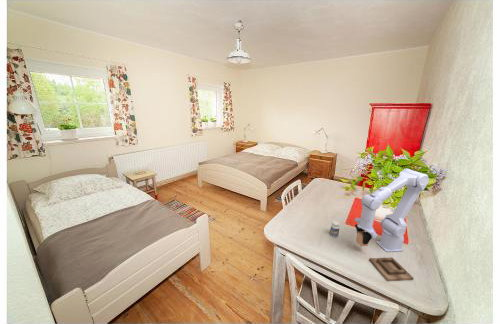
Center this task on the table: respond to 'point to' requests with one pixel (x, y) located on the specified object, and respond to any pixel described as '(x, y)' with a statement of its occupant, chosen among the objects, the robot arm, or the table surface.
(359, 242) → the terracotta block
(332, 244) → the table surface
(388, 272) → the display stand
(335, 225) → the pill bottle
